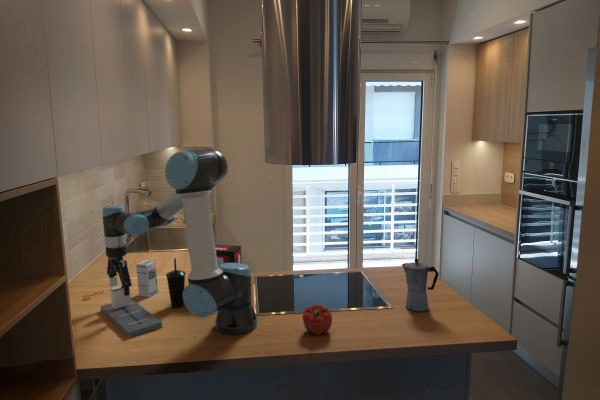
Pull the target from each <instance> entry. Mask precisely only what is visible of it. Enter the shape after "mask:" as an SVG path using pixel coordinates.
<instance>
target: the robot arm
mask: <svg viewBox="0 0 600 400" xmlns="http://www.w3.org/2000/svg"><path fill="white" fill-rule="evenodd" d="M227 161H228V160H227V158H226V157H225V156H224V155H223V153H222V152H220V151H218V150H216V149H213V148H205V149H194V150H193V149H192V150H188V149H187V150H183V151H177V152H175V153H173V154H171V156H170V157H169V159H168V160H167V162H166V164H165V168H164V169H165V171H164V175H165V179H166V182H167V183H168V184H169V186H170V188H172V189H174V190H172V191H171V193H169V194H168V195H167V196H166V197H164V199H162V200H161V201H160V202H159V203H158V204H157V205H156V206H155V207H154V208H150V209H145V210H142V211H137V212H130V213H129V212H125V210H124V206H122V205H120V204H116V205H115V204H113V205H111V204H110V205H107V206H104V207H103V208H102V217H101V218H102V226H103V234H104V235H103V236H104V246H105V256H106V257H107V267H106V269H107V270H106V275H107V276H108V279H109V280H108V281H109V289H110V288H111V287H115V286H119V285H118V277H119V280H120V282H121V284H120V285H122V286H121V288H122V299H123V304H126V303H129V302H131V300H130V298H131V290H130V289H131V288H130V287H132V285H133V284H132V280H131V277H130V271H129V269H128V262H127V260H124V257H125V256H127V254H128V246H127V245H126V244H127V239H126V238H128V236H127V234H128V235H131V236H141V235H145V233H146V232H147V231H149V230H153V229H156V228H160V227H161V228H162V227H166V226H168V225H170V224H173V222H174V221H175V216H177V215H178V214H179V213H180V212H181V211H183V218H184V223H185V224H184V225H185V232H186V238H187V247H188V254H189V260H190V268H191V270H190V272H189V273H188V274H187V280H188V281H187V282H188V284H187V285H185V287H184V290H183V301H184V305H185V307H186V309H187V310H188V311H189V312H190V313H191V314H192V315H194V316H196V317H199V318H205V317H208V316H210V315H213V314H216V318H215V321H214V322H215V324H214V325H215V329H216V331H218V332H219V333H221V334H225V335H235V336H236V335H242V334H246V333H249V332H251V331H253V330H255V329H256V328H257V326H258V317H257V314H256V311H255V310H254V307H253V301H252V298H253V297H252V296H253V295H252V273H251V272H252V271H251V268H250V266H249V265H247V264H245V263H242V262H241V263H223V264H220V265H219V266H218V264H217V256H216V249H215V245H216V242H215V235H214V229H213V228H214V226H213V220H212V212H211V211H212V210H211V205H210V204H211V203H210V197H209V196H210V194H211V193H212V191H213V188H215V187H216V186H217V185H218V184H220V183H221V182H222V181H223V180H224V179H225V178H226V176H227V174H228V170H229V165H228V162H227ZM117 276H118V277H117ZM109 292H111V290H110V291H109ZM216 312H217V313H216Z"/></svg>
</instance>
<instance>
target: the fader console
mask: <svg viewBox="0 0 600 400" xmlns="http://www.w3.org/2000/svg"><path fill="white" fill-rule="evenodd" d="M130 300H131V302H130V305H128V306H125V307H121V308H117V309H114V308H113V307H112V302H110V303H107V304H104V305H101V306H100V311H101V313H102V314H103V315H104V316H105V317H106V318H108V320H109V321H111V322H112V323H113V324H114V325H115V326H116V327H117V328H118V330H120V331H121V332H122V334H124V335H125V336H126V337H127V338H128V339H130V338H133V337H136V336H139V335H142V334H146V333H149V332H152V331H155V330H157V329H160V328H162V327H163V325H162V321H161V320H160V319H158V318H157V317H156V316H154V315H153V314H152V313H151V312H149V311H148V310H147V309H146V308H144V307H143V306H141V305H140V304H139V303H138V302H136V301H135V300H134V299H133V298H132V297H130Z"/></svg>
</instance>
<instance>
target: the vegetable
mask: <svg viewBox="0 0 600 400" xmlns="http://www.w3.org/2000/svg"><path fill="white" fill-rule="evenodd" d="M302 320H303V321H302V322H303V324H304V325H303V326H304V328H305V329H306V331H308V332H309V333H312V334H313V335H314V336H318V335H319V336H320V335H321V334H322V333H323V334H325V333H327V332H328V331H330V329H331V327H332V322H333V314H332V313H331V311H330V310H329V308H327V307H325V306H323V305H320V304H314V305H311V306H309V307H306V308H304V311H303V312H302Z"/></svg>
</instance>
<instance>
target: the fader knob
mask: <svg viewBox="0 0 600 400" xmlns="http://www.w3.org/2000/svg"><path fill="white" fill-rule="evenodd" d="M121 286H122V284H120V285H118V286H115V287H111V288H110V287H109V289H110V290H111V291H110V299H111V303H112V307H113V308H114V309H117V308H121V307H125V306H128V305H130V302H129V303H126V304H123V299H122V288H121Z"/></svg>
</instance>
